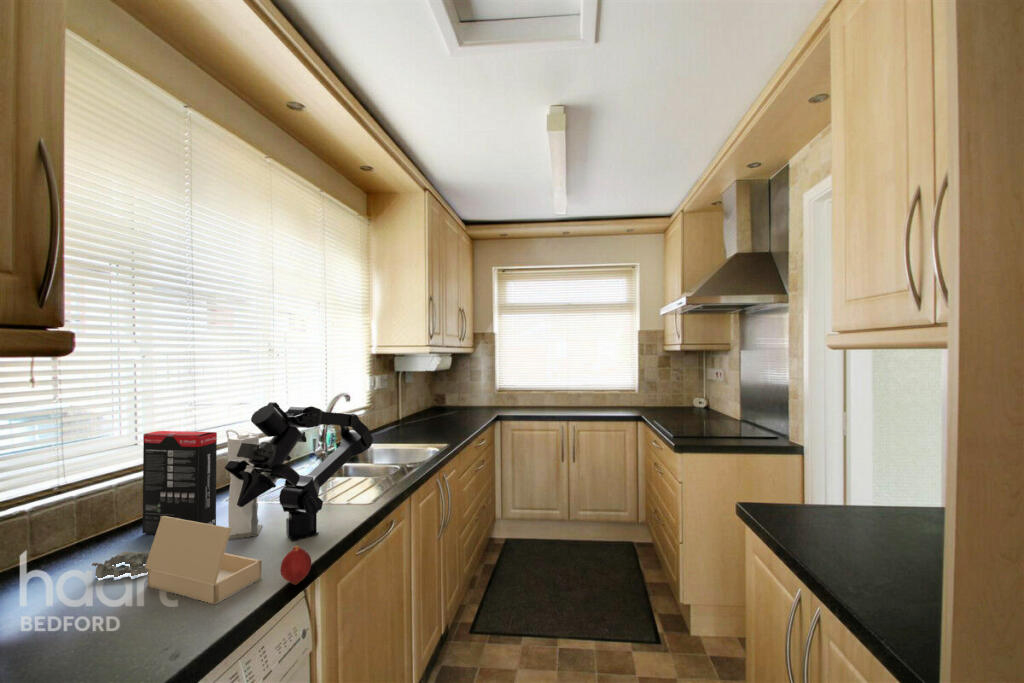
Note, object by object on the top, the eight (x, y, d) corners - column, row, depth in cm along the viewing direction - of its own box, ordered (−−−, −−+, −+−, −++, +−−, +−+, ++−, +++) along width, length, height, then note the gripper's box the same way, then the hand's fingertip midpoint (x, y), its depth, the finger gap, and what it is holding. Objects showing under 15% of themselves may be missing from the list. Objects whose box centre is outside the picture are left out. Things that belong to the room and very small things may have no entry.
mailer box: (196, 564, 100) (196, 547, 100) (261, 579, 93) (261, 560, 93) (147, 586, 90) (147, 567, 90) (215, 605, 83) (215, 584, 83)
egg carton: (87, 583, 92) (88, 563, 92) (118, 566, 100) (118, 548, 100) (139, 581, 93) (139, 562, 93) (166, 564, 100) (166, 546, 100)
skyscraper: (220, 541, 112) (221, 432, 113) (228, 529, 119) (229, 427, 120) (258, 535, 115) (258, 430, 116) (262, 524, 123) (263, 425, 123)
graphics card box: (218, 527, 121) (219, 429, 121) (198, 538, 114) (199, 434, 114) (162, 525, 122) (163, 429, 123) (139, 536, 115) (140, 433, 116)
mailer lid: (164, 516, 93) (161, 516, 93) (231, 528, 87) (228, 528, 86) (147, 567, 90) (144, 567, 90) (215, 584, 83) (212, 584, 83)
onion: (282, 579, 93) (282, 541, 93) (312, 574, 95) (312, 537, 95) (278, 593, 87) (278, 553, 87) (309, 588, 89) (310, 548, 89)
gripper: (232, 426, 107) (185, 484, 97) (290, 430, 101) (246, 493, 91) (260, 451, 115) (219, 507, 104) (315, 456, 108) (278, 517, 98)
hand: (239, 506), depth 99 cm, fingers closed
